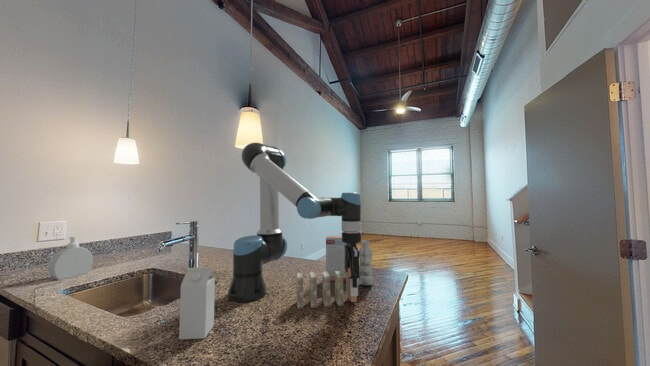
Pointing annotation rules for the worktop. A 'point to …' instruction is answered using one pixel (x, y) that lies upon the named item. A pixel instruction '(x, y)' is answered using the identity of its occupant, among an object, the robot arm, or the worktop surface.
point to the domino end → (352, 298)
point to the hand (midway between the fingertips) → (351, 292)
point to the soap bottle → (70, 261)
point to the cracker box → (335, 256)
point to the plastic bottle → (365, 264)
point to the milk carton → (197, 303)
